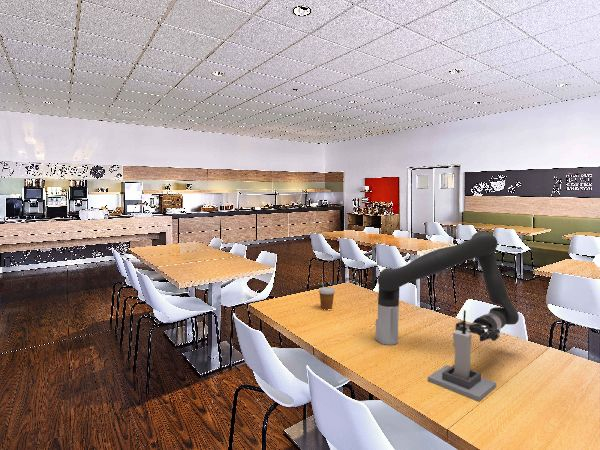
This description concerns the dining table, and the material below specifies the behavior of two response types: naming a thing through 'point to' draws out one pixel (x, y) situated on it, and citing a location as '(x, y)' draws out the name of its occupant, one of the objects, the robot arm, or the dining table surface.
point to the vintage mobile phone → (462, 352)
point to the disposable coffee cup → (326, 297)
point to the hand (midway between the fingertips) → (468, 335)
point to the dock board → (463, 383)
